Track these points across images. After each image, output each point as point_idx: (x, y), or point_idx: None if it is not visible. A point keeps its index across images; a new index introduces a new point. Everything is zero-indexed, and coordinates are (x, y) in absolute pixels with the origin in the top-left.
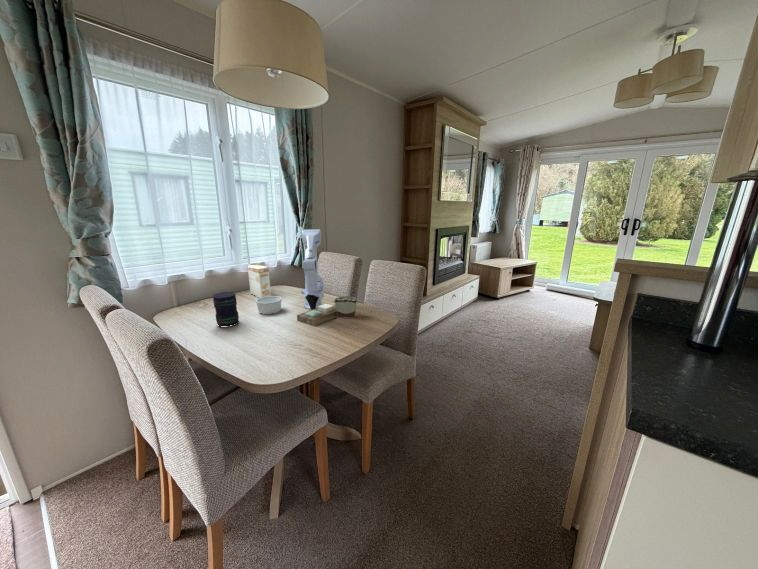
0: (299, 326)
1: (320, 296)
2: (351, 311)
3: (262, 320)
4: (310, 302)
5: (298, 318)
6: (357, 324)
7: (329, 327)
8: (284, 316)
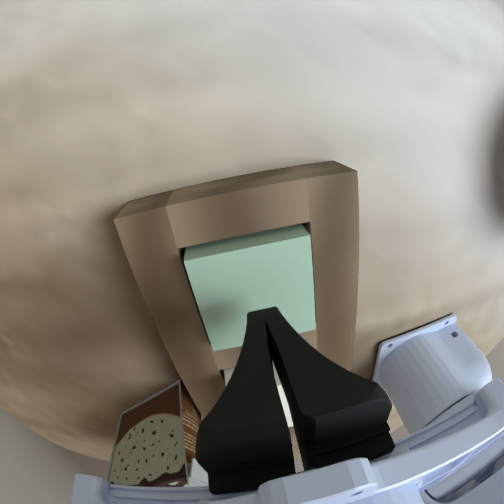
0: (205, 104)
1: (79, 494)
2: (126, 437)
3: (478, 37)
4: (265, 368)
5: (327, 167)
6: (42, 377)
7: (51, 271)
8: (457, 154)
